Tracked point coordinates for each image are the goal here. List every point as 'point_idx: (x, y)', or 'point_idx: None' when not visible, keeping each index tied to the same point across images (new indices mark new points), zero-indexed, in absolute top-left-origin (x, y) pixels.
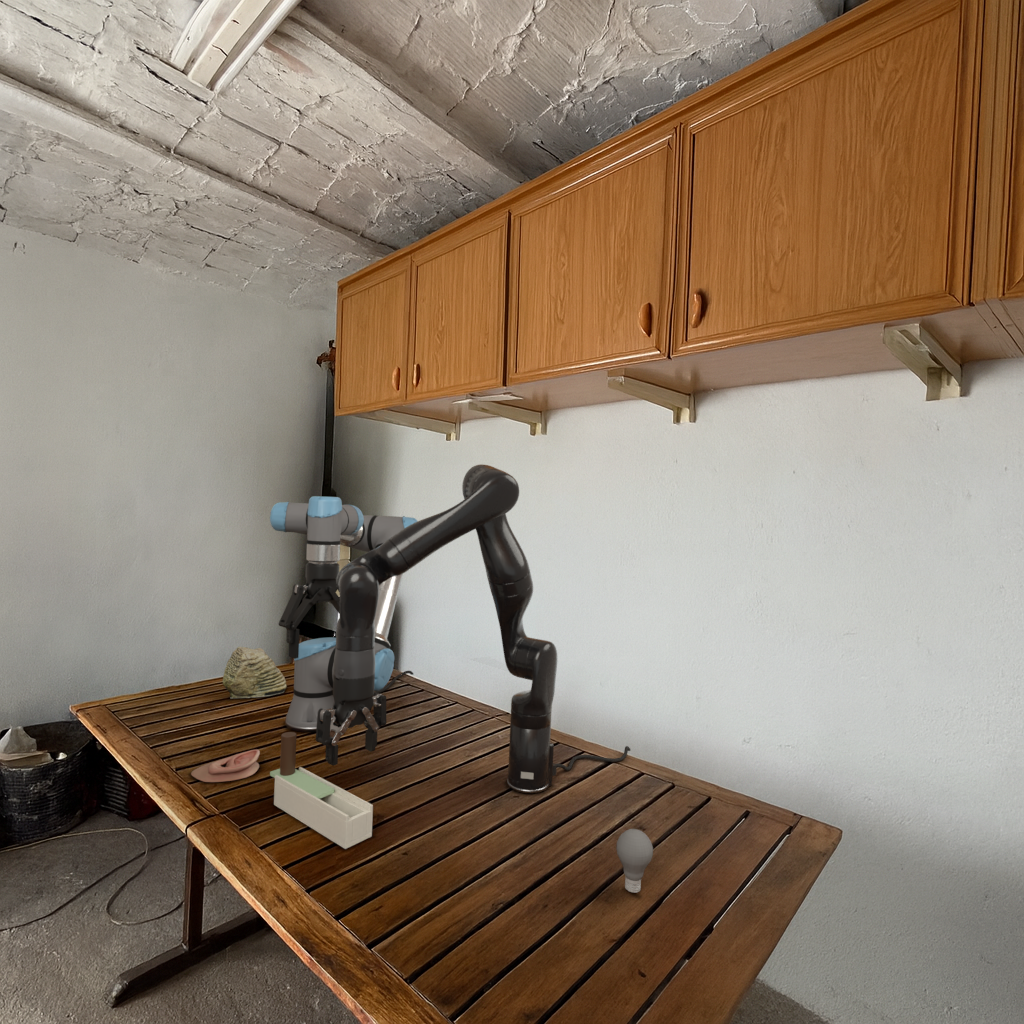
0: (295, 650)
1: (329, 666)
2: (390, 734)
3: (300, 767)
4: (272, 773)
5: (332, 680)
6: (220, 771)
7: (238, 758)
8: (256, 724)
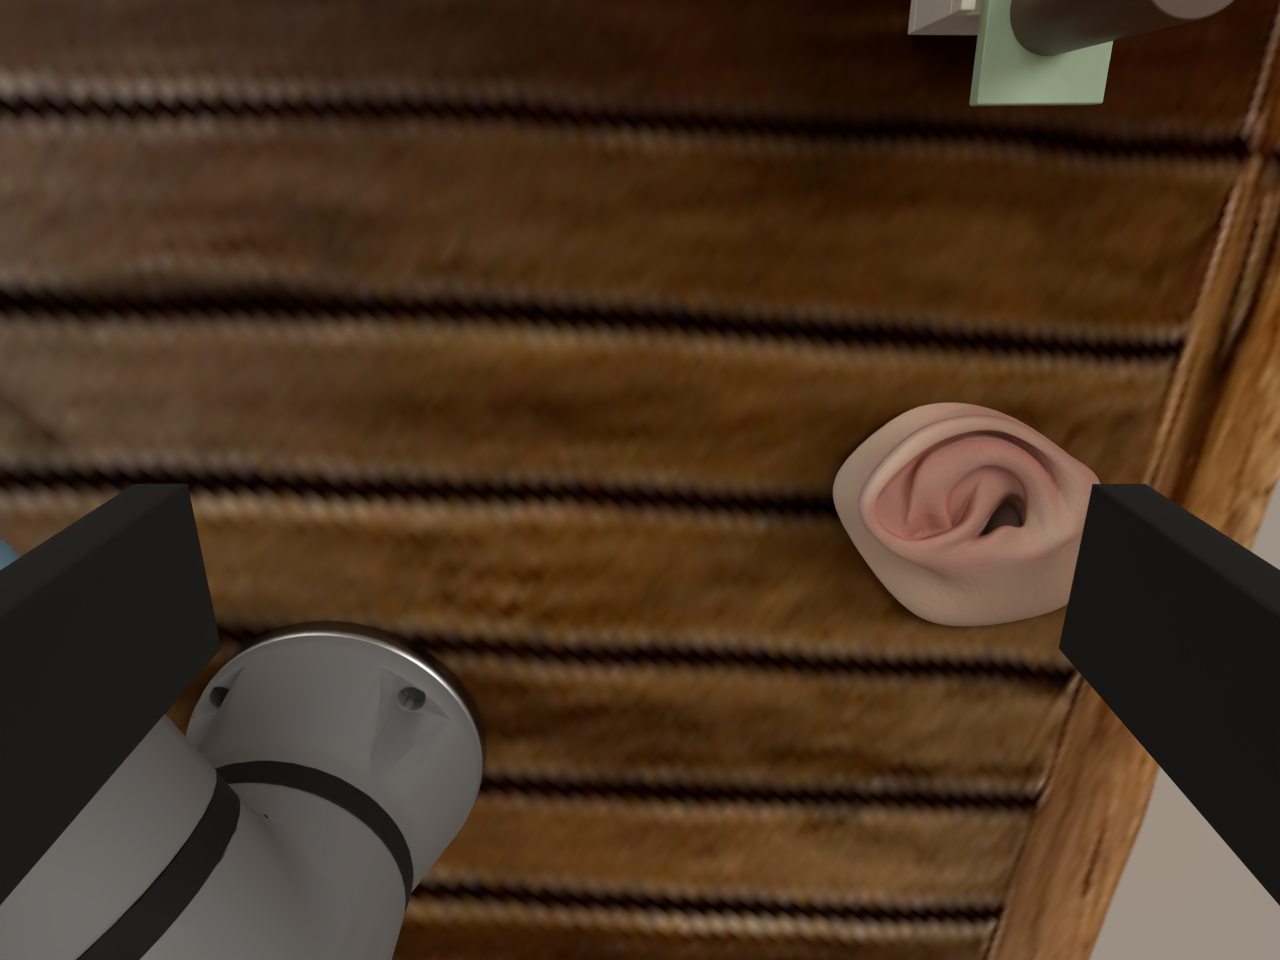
0: (1227, 544)
1: (187, 885)
2: (87, 355)
3: (967, 3)
4: (1107, 72)
5: (217, 786)
6: (1073, 458)
7: (923, 537)
8: (567, 876)
